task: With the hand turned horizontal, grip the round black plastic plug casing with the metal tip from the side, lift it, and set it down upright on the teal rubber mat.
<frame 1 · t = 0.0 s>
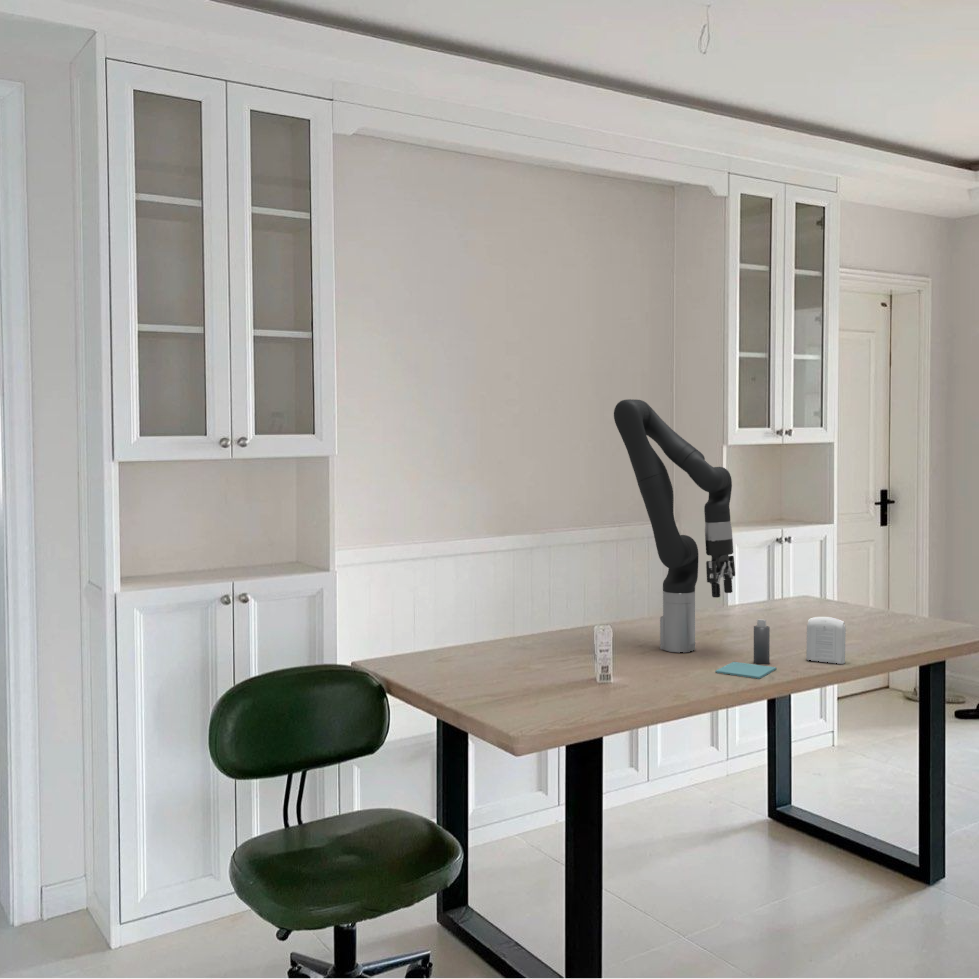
hand: (722, 595, 289), 17 cm above the table, tool pointing down, fingers open, 8 cm apart
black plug: (761, 663, 281), on the table
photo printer: (825, 662, 281), on the table
teal mat: (746, 671, 272), on the table
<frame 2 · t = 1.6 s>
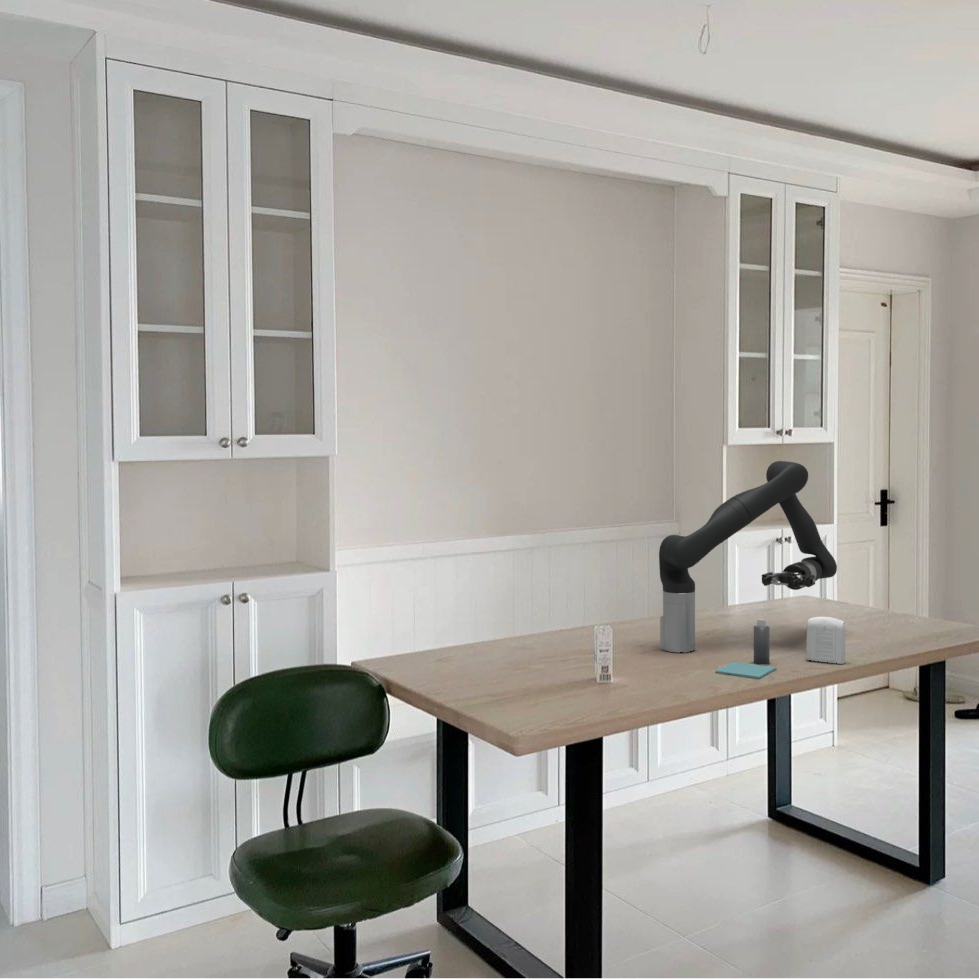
hand: (779, 583, 290), 20 cm above the table, tool horizontal, fingers open, 8 cm apart
nothing on the table moved.
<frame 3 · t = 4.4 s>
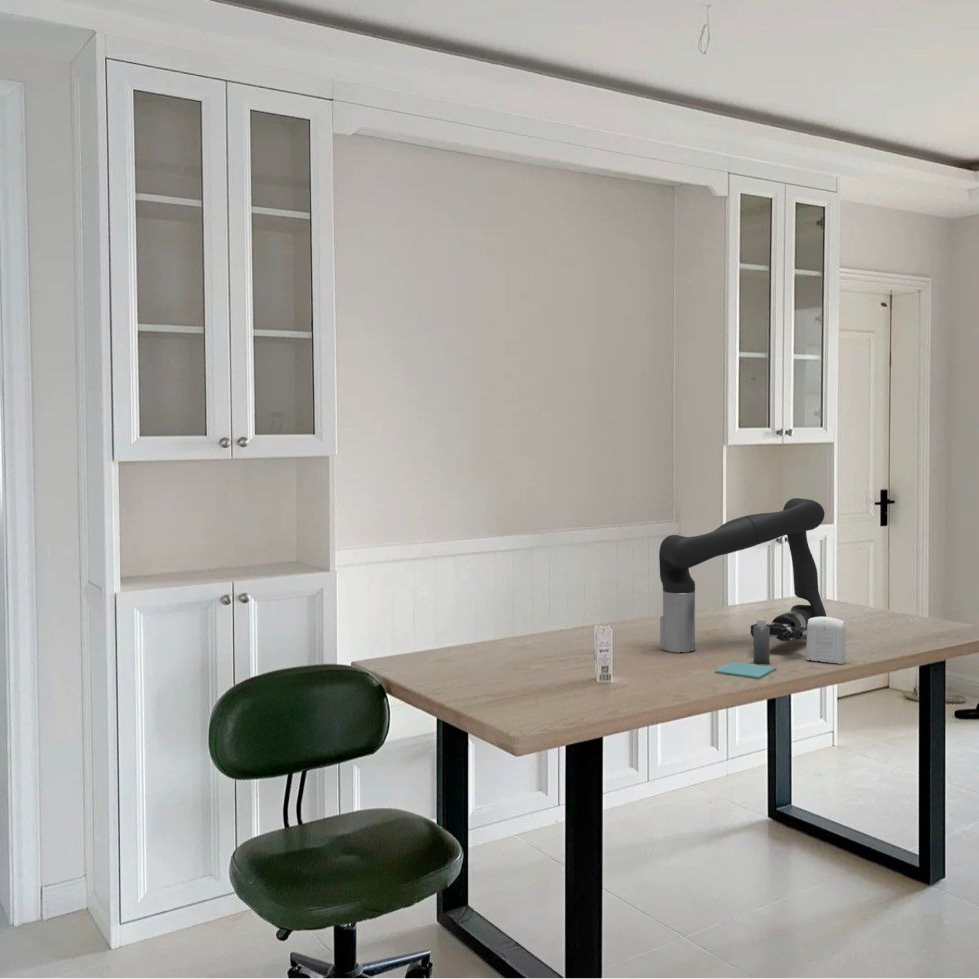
hand: (768, 635, 284), 7 cm above the table, tool horizontal, fingers open, 8 cm apart
nothing on the table moved.
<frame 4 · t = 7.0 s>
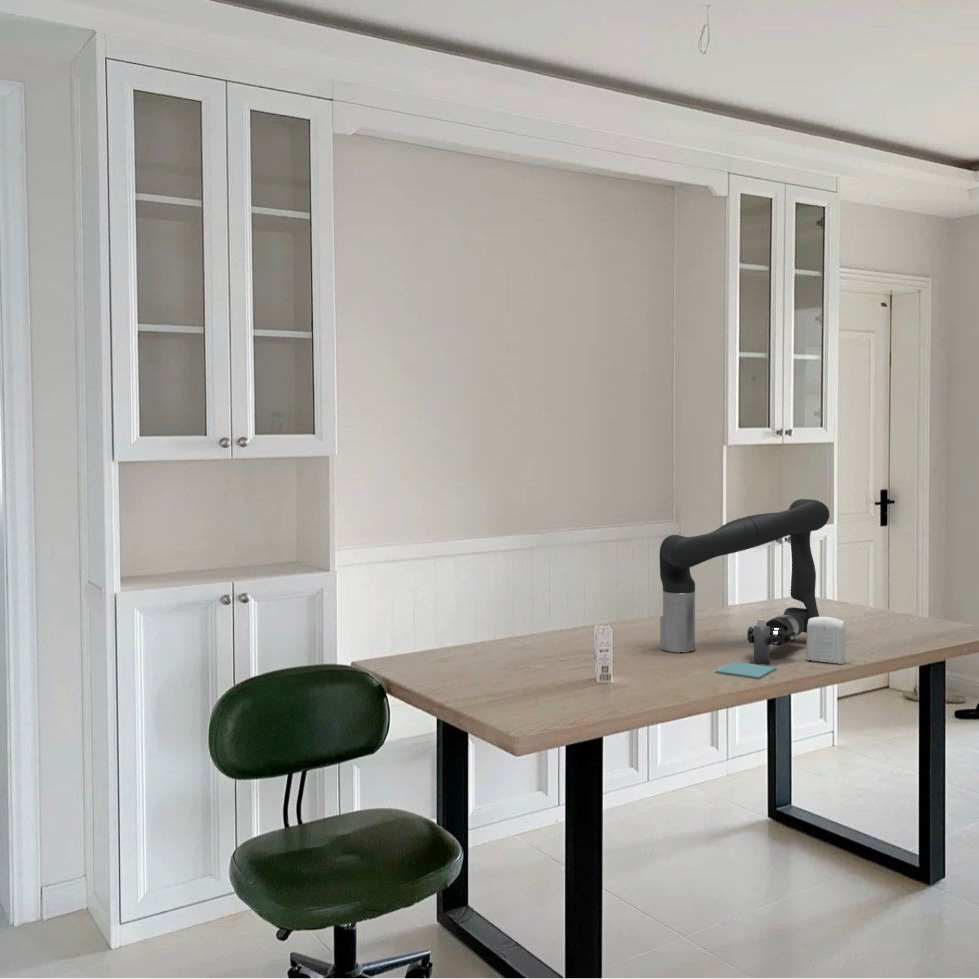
hand: (759, 640, 279), 7 cm above the table, tool horizontal, fingers closed on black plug, 4 cm apart
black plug: (761, 663, 281), on the table, touching gripper
everything else where it was.
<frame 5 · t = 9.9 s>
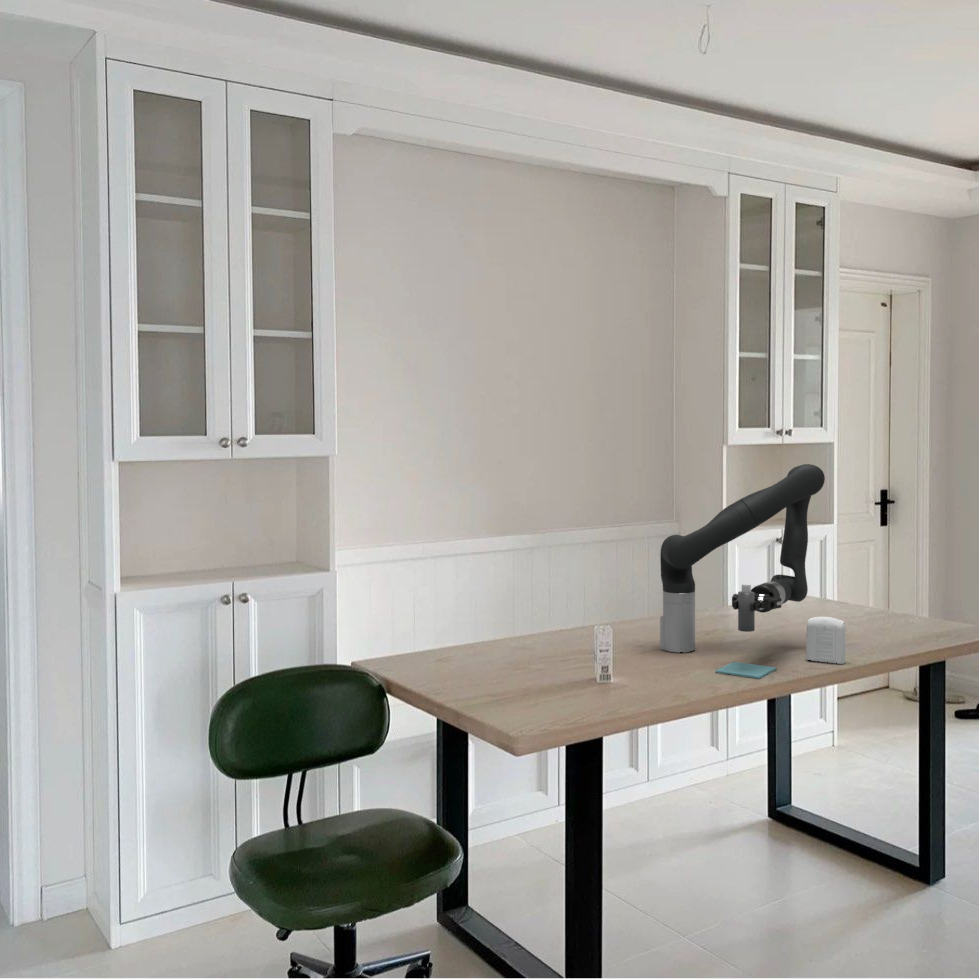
hand: (743, 606, 269), 18 cm above the table, tool horizontal, fingers closed on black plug, 4 cm apart
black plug: (746, 629, 271), point 11 cm above the table, touching gripper
everything else where it was.
when the fingers open (9 cm above the table, at t = 12.7 s): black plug drops 1 cm, resting on teal mat.
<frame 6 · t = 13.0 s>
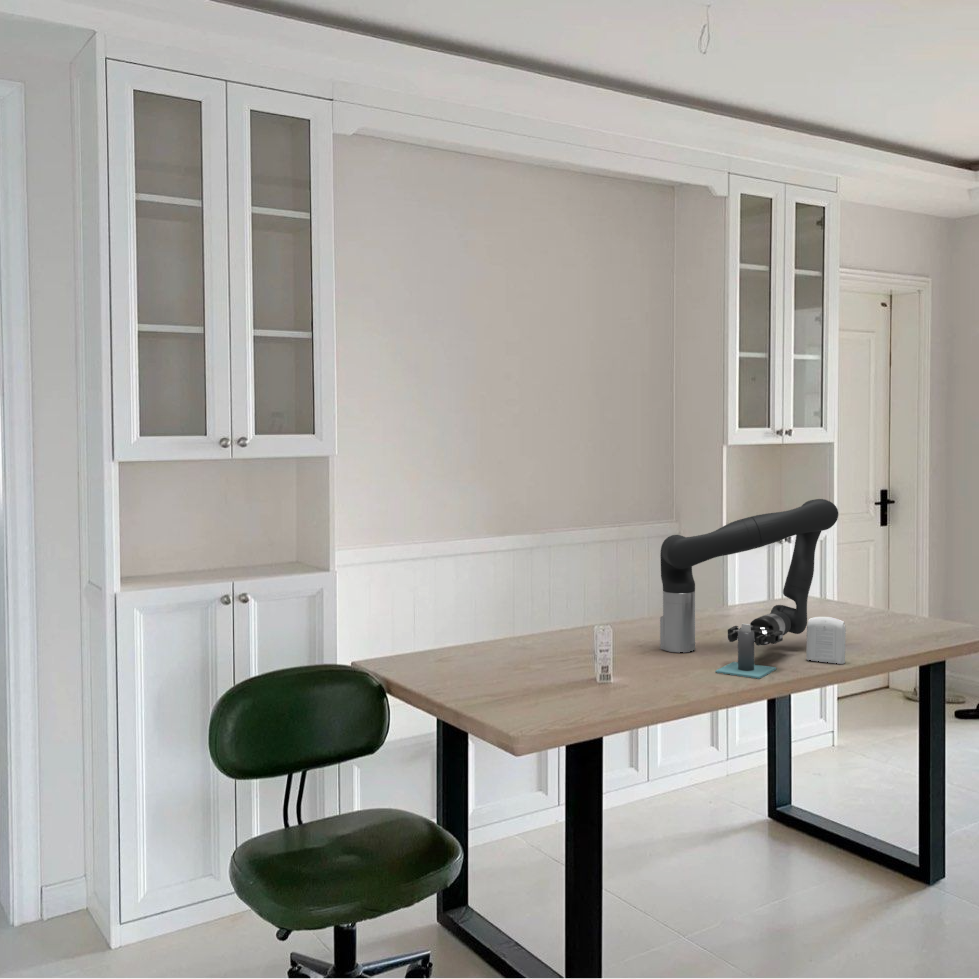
hand: (744, 639, 270), 9 cm above the table, tool horizontal, fingers open, 7 cm apart
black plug: (746, 668, 272), point 1 cm above the table, touching teal mat
everything else where it was.
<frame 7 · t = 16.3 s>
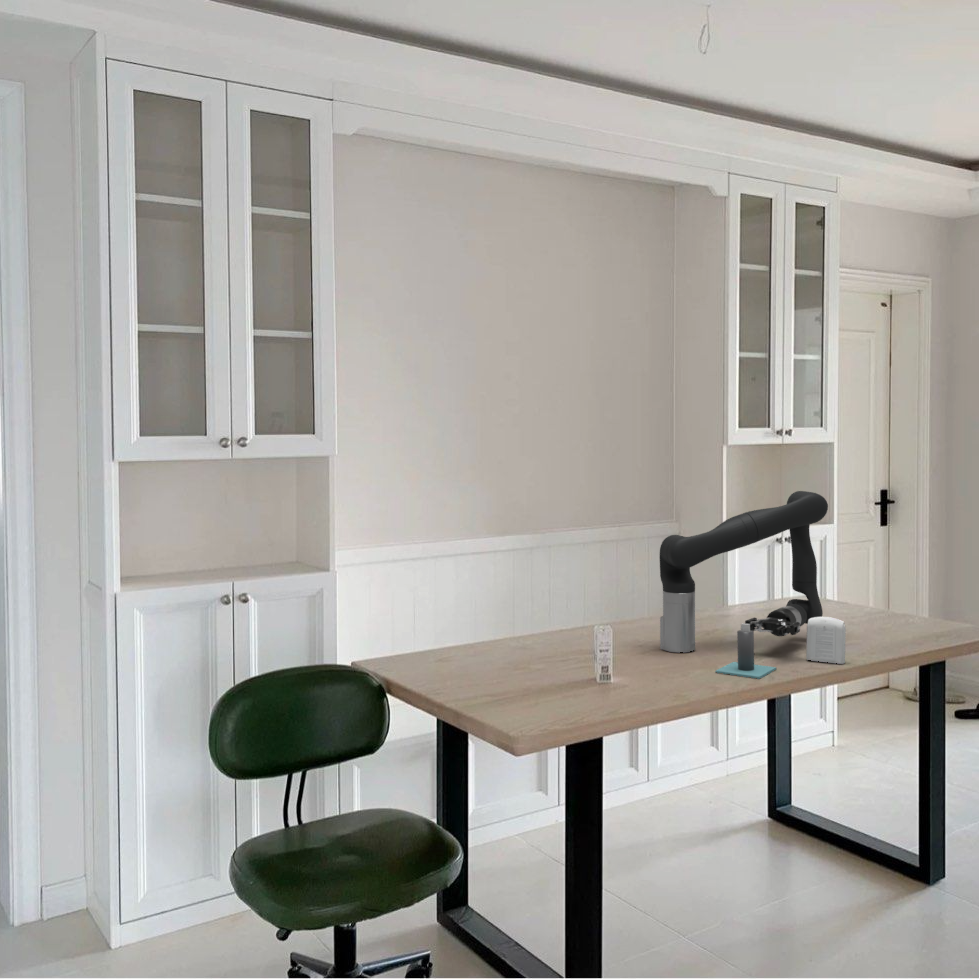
hand: (762, 630, 281), 9 cm above the table, tool horizontal, fingers open, 8 cm apart
nothing on the table moved.
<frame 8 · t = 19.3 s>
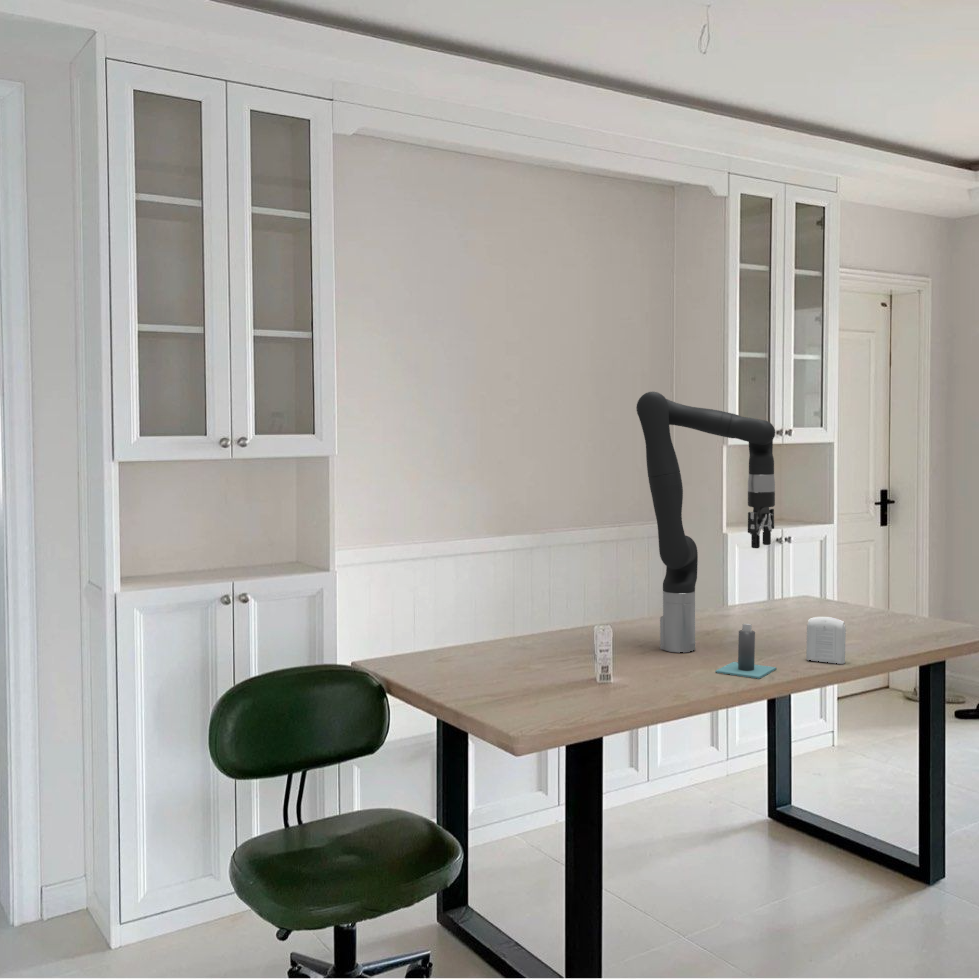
hand: (761, 546, 294), 30 cm above the table, tool pointing down, fingers open, 8 cm apart
nothing on the table moved.
at the end: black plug inside the target area on the teal mat (0.1 cm from its centre), point 0.7 cm above the teal mat's base; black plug tilted 1°; the gripper is holding nothing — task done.
